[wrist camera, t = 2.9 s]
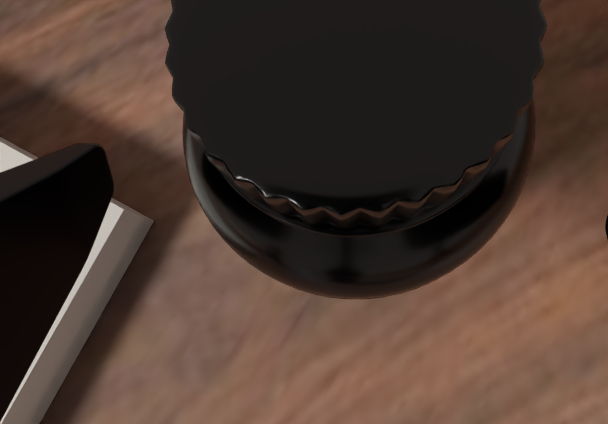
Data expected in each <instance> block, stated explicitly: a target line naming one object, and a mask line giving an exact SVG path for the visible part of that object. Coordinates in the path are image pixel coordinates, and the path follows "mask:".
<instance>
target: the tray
mask: <svg viewBox="0 0 608 424" xmlns="http://www.w3.org/2000/svg"><path fill="white" fill-rule="evenodd" d="M37 158H38V157H37V156H35V155H33V154H31V153H29V152H27V151H26V150H24V149H22V148H20V147H18V146H16V145H15V144H13V143H11V142H9V141H7V140H5V139H4V138H2V137H0V172H3V171H6V170H8V169H11V168H14V167H16V166H19V165H22V164H24V163H27V162H29V161H32V160H35V159H37ZM153 222H154V220H152V219H150V218H148V217H147V216H145V215H143V214H141V213H139V212H137V211H136V210H134V209H132V208H130V207H128V206H126V205H125V204H123V203H121V202H119V201H117V200H115V199H114V198H112V199H111V201H110V204H109V207H108V209H107V212H106V214H105V217H104V219H103V222H102V224H101V227H100V229H99V232H98V235H97V237H96V240H95V242H94V245H93V247H92V250H91V252H90V254H89V257H88V259H87V261H86V263H85V265H84V267H83V269H82V271H81V273H80V275H79V277H78V279H77V280H76V282H75V284H74V286H73V288H72V290H71V292H70V293H69V295H68V297H67V299H66V301H65V303H64V305H63V306H62V308H61V310H60V312H59V314H58V316H57V318H56V319H55V321H54V323H53V325H52V327H51V329H50V331H49V332H48V334H47V336H46V338H45V340H44V342H43V344H42V345H41V347H40V349H39V351H38V353H37V355H36V357H35V359H34V360H33V362H32V364H31V366H30V368H29V370H28V372H27V373H26V375H25V377H24V379H23V381H22V383H21V385H20V386H19V388H18V390H17V392H16V394H15V396H14V398H13V399H12V401H11V403H10V405H9V407H8V409H7V411H6V412H5V414H4V416H3V418H2V420H1V422H0V424H40V422H41V420H42V419H43V417H44V415H45V413H46V412H47V410H48V408H49V406H50V404H51V403H52V401H53V399H54V397H55V396H56V394H57V392H58V390H59V389H60V387H61V385H62V383H63V381H64V380H65V378H66V376H67V374H68V373H69V371H70V369H71V367H72V366H73V364H74V362H75V360H76V358H77V357H78V355H79V353H80V351H81V350H82V348H83V346H84V344H85V342H86V341H87V339H88V337H89V335H90V334H91V332H92V330H93V328H94V327H95V325H96V323H97V321H98V319H99V318H100V316H101V314H102V312H103V311H104V309H105V307H106V305H107V303H108V302H109V300H110V298H111V296H112V295H113V293H114V291H115V289H116V288H117V286H118V284H119V282H120V280H121V279H122V277H123V275H124V273H125V272H126V270H127V268H128V266H129V265H130V263H131V261H132V259H133V257H134V256H135V254H136V252H137V250H138V249H139V247H140V245H141V243H142V241H143V240H144V238H145V236H146V234H147V233H148V231H149V229H150V227H151V226H152V224H153Z"/></svg>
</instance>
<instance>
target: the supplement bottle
mask: <svg viewBox="0 0 608 424" xmlns="http://www.w3.org/2000/svg"><path fill="white" fill-rule="evenodd" d="M540 1H541V0H171V4H172V8H173V12H172V14H171V16H170V18H169V20H168V22H167V25H166V27H165V32H166V36H167V39H168V42H169V44H170V45H169V48H168V51H167V55H166V60H165V64H166V66H167V68H168V70H169V72H170V74H171V76H172V77H173V84H172V97H173V99H174V101H175V102H176V104H177V105H178V106H179V107H180V108H181V109H182V111H183V112H184V114H183V149H184V155H185V161H186V166H187V170H188V174H189V178H190V181H191V184H192V187H193V189H194V192H195V194H196V197H197V199H198V201H199V203H200V205H201V207H202V209H203V211H204V213H205V215H206V216H207V218H208V219H209V221H210V222H211V224H212V226H213V227H214V228H215V230H216V231H217V232H218V233H219V235H220V236H221V237H222V238H223V240H224V241H225V242H226V243H227V244H228V245H229V246H230V247H231V248H232V249H233V250H234V251H235V252H236V253H237V254H238V255H240V256H241V257H242V258H243V259H244V260H246V261H247V262H248V263H249V264H251V265H252V266H254V267H255V268H257V269H258V270H260V271H261V272H263V273H264V274H266V275H268V276H270V277H272V278H273V279H275V280H277V281H279V282H281V283H284V284H286V285H288V286H291V287H293V288H295V289H298V290H302V291H305V292H308V293H311V294H315V295H320V296H325V297H331V298H341V299H371V298H381V297H386V296H391V295H396V294H401V293H404V292H407V291H410V290H414V289H417V288H419V287H421V286H424V285H426V284H429V283H431V282H433V281H435V280H437V279H439V278H441V277H442V276H444V275H446V274H448V273H450V272H451V271H453V270H454V269H456V268H457V267H459V266H460V265H462V264H463V263H464V262H466V261H467V260H468V259H470V258H471V257H472V256H473V255H474V254H475V253H477V252H478V251H479V250H480V249H481V248H482V247H483V246H484V245H485V244H486V243H487V242H488V241H489V240H490V239H491V238H492V237H493V236H494V234H495V233H496V232H497V231H498V229H499V228H500V227H501V226H502V224H503V223H504V222H505V220H506V218H507V217H508V215H509V214H510V212H511V210H512V209H513V207H514V205H515V203H516V201H517V199H518V197H519V195H520V193H521V191H522V189H523V186H524V183H525V180H526V178H527V175H528V171H529V167H530V163H531V159H532V155H533V148H534V141H535V123H536V120H535V106H534V99H533V80H534V79H535V78H536V76H537V75H538V73H539V72H540V70H541V69H542V67H543V63H544V60H543V52H542V48H541V44H540V42H541V41H542V39H543V36H544V34H545V31H546V28H547V23H546V20H545V18H544V15H543V13H542V11H541V9H540V7H539V6H540Z"/></svg>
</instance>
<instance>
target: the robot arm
mask: <svg viewBox="0 0 608 424" xmlns="http://www.w3.org/2000/svg"><path fill="white" fill-rule="evenodd" d="M113 192H114V183H113V178H112V175H111V171H110V167H109V163H108V160H107V156H106V153H105V150H104V148H103V147H102V146H100V145H99V144H90V143H77V144H74V145H72V146H69V147H66V148H64V149H61V150H58V151H56V152H53V153H50V154H48V155H45V156H43V157H40V158H37V159H35V160H32V161H29V162H27V163H24V164H22V165H19V166H16V167H14V168H11V169H8V170H6V171H3V172H0V422H1V420H2V418H3V416H4V414H5V412H6V411H7V409H8V407H9V405H10V403H11V401H12V399H13V398H14V396H15V394H16V392H17V390H18V388H19V386H20V385H21V383H22V381H23V379H24V377H25V375H26V373H27V372H28V370H29V368H30V366H31V364H32V362H33V360H34V359H35V357H36V355H37V353H38V351H39V349H40V347H41V345H42V344H43V342H44V340H45V338H46V336H47V334H48V332H49V331H50V329H51V327H52V325H53V323H54V321H55V319H56V318H57V316H58V314H59V312H60V310H61V308H62V306H63V305H64V303H65V301H66V299H67V297H68V295H69V293H70V292H71V290H72V288H73V286H74V284H75V282H76V280H77V279H78V277H79V275H80V273H81V271H82V269H83V267H84V265H85V263H86V261H87V259H88V257H89V254H90V252H91V250H92V247H93V245H94V242H95V240H96V237H97V235H98V232H99V229H100V227H101V224H102V222H103V219H104V217H105V214H106V212H107V209H108V207H109V204H110V201H111V199H112V196H113ZM605 228H606V235H607V239H608V216H607V219H606V225H605Z"/></svg>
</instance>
